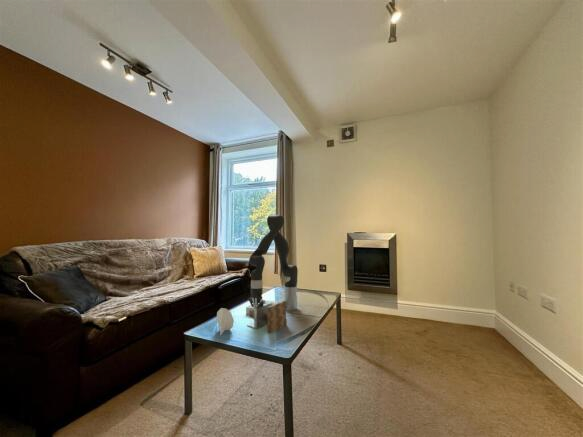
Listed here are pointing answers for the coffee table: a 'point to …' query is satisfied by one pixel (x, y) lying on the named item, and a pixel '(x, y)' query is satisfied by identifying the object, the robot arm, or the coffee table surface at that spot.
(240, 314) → the coffee table surface
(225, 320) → the white faceted rounded block
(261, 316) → the bookend
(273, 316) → the end panel
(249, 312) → the skincare box
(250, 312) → the shelf rail
